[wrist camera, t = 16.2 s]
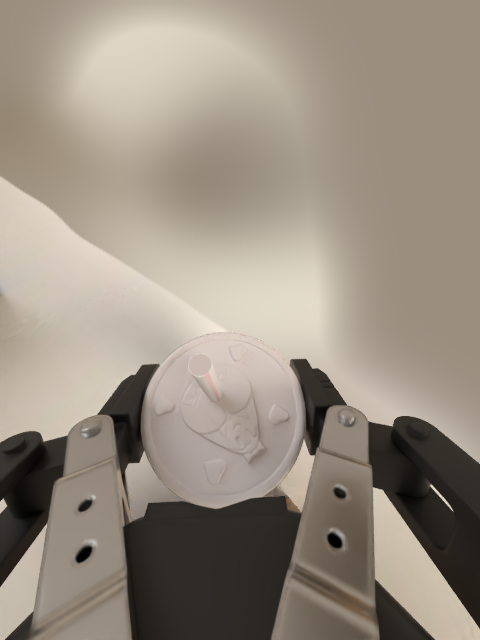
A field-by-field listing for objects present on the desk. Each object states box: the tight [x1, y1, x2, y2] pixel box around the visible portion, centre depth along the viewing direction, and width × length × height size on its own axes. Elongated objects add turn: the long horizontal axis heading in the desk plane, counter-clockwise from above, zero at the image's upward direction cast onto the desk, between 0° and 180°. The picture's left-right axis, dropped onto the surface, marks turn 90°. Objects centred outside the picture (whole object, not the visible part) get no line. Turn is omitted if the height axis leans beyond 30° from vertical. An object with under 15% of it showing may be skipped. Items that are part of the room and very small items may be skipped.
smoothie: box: [141, 332, 306, 509], centre depth 12 cm, size 6×6×14 cm
